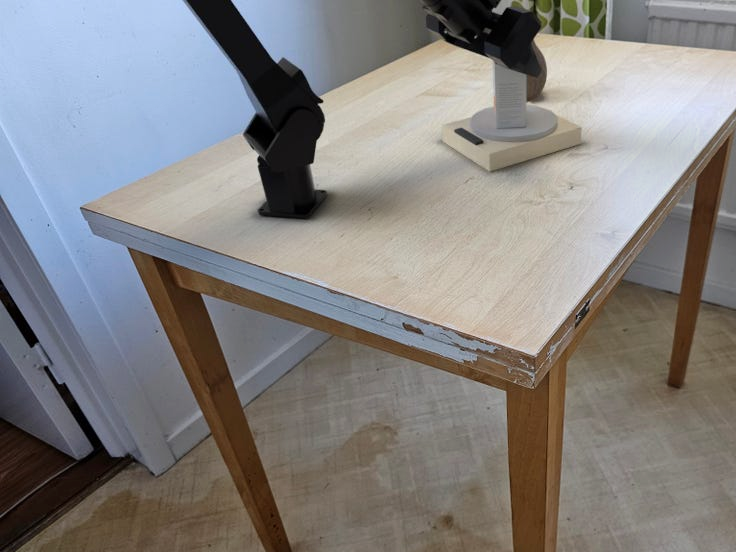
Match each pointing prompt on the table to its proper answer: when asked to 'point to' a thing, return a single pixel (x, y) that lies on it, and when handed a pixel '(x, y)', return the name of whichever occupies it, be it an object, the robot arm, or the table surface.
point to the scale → (510, 137)
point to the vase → (536, 84)
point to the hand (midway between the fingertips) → (519, 65)
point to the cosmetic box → (509, 97)
